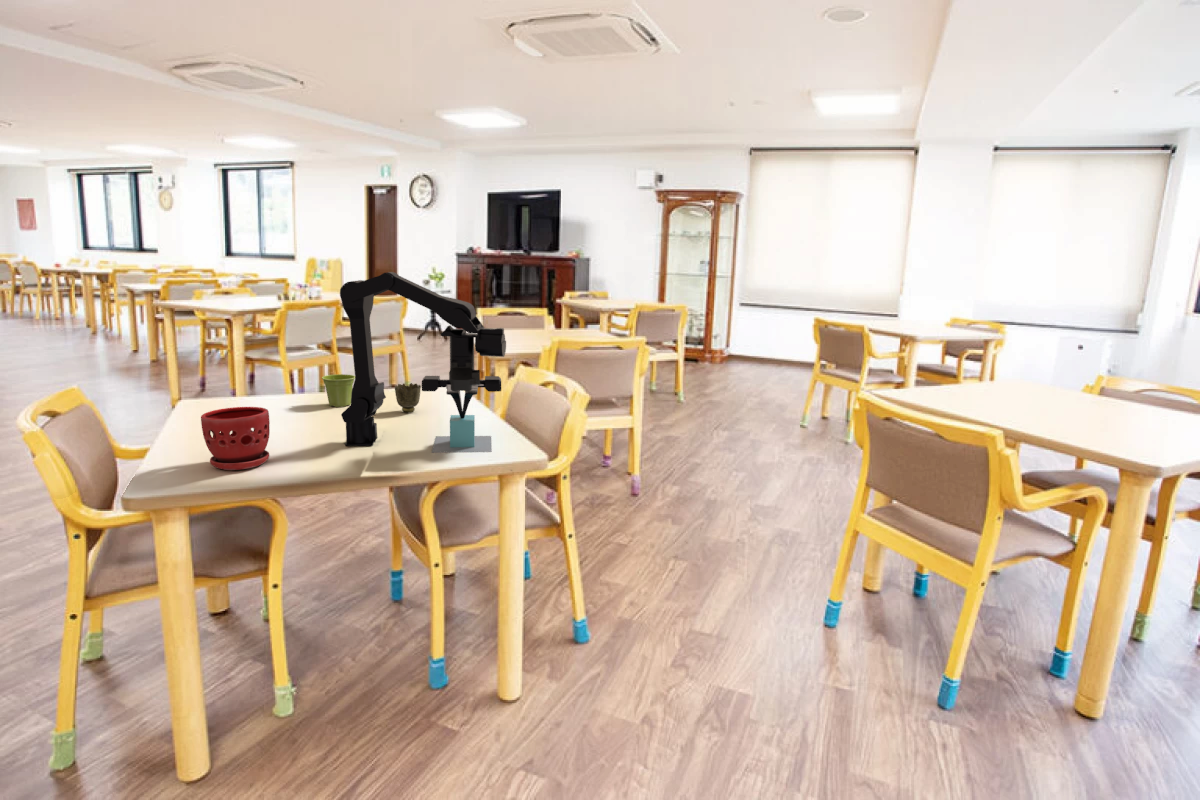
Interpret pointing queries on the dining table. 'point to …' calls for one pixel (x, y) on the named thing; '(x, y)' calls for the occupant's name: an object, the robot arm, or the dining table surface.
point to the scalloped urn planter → (407, 396)
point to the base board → (479, 446)
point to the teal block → (462, 431)
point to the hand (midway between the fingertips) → (462, 418)
